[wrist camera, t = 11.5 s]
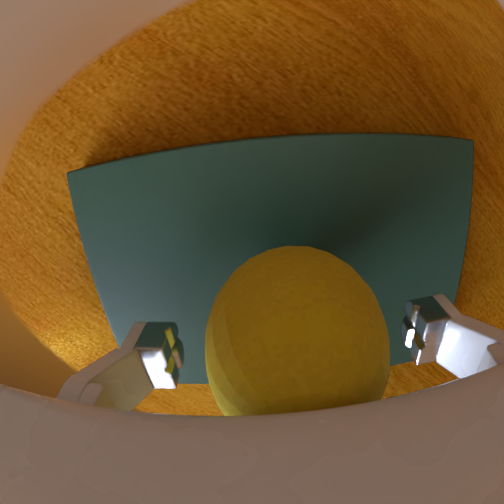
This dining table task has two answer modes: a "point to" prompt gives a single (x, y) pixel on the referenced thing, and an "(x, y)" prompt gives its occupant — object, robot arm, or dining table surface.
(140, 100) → the dining table surface
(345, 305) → the lemon
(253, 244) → the cutting board
